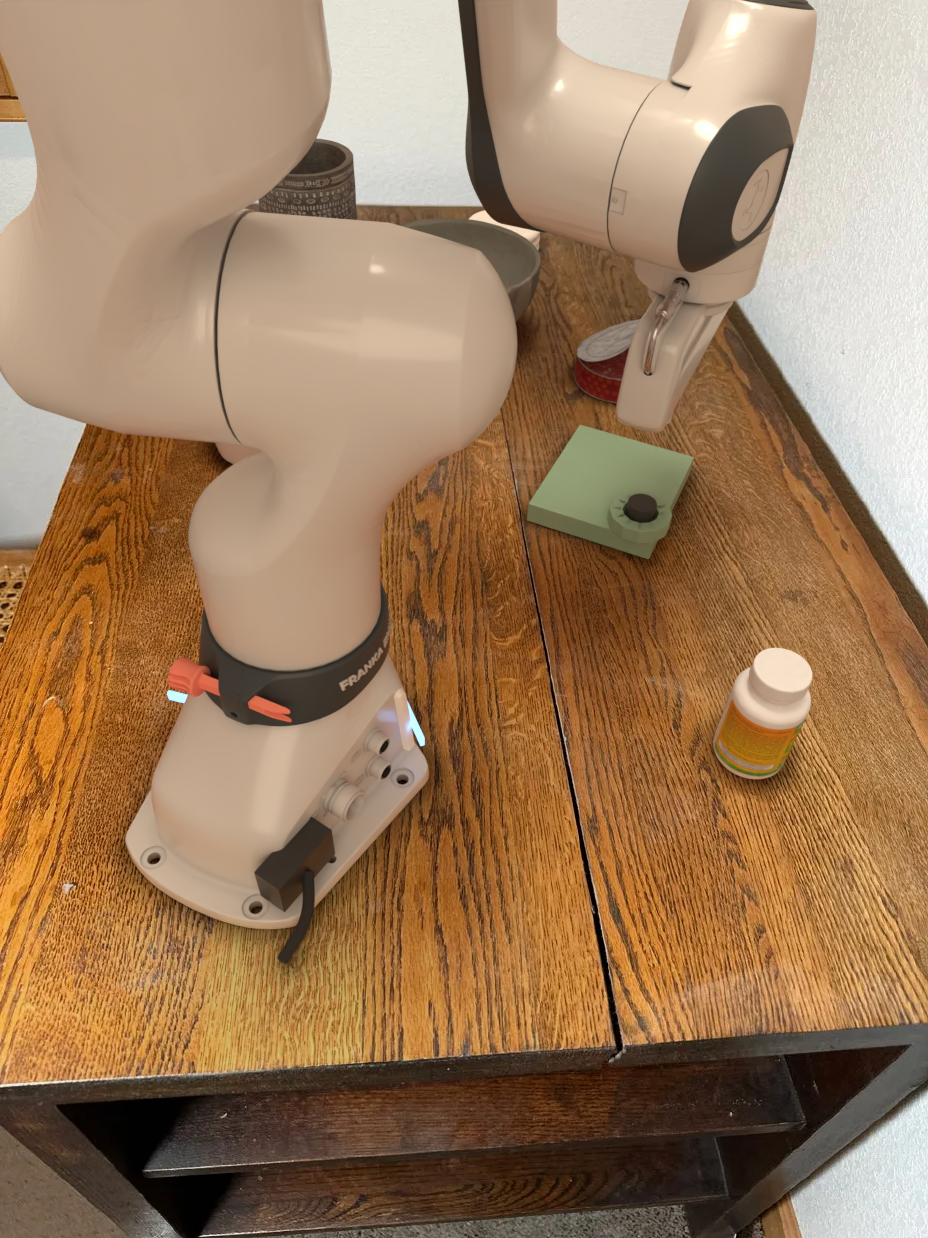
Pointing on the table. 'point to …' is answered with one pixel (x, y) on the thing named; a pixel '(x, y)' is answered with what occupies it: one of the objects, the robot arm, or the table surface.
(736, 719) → the supplement bottle
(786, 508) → the table surface
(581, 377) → the canned food
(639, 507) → the button
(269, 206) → the planter
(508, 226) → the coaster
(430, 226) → the bowl
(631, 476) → the scale
